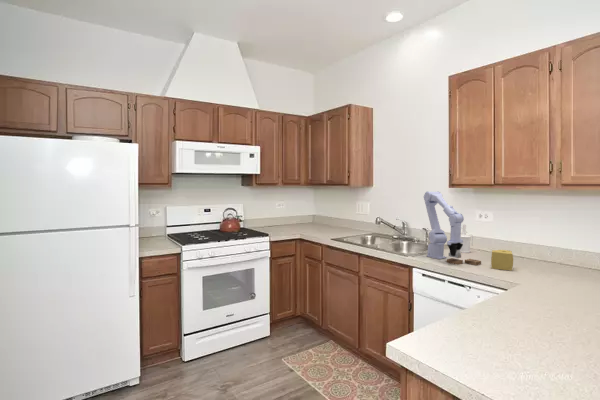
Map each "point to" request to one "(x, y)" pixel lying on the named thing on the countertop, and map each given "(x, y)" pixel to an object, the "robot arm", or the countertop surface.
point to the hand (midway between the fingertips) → (454, 255)
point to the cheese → (502, 260)
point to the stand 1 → (454, 261)
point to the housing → (456, 254)
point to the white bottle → (465, 241)
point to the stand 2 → (472, 262)
